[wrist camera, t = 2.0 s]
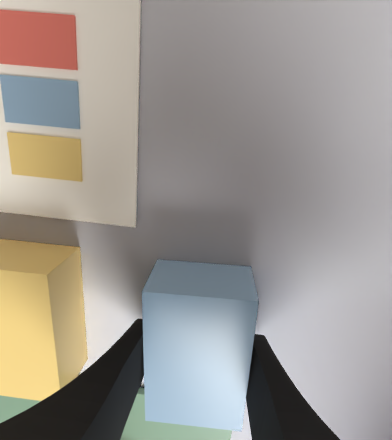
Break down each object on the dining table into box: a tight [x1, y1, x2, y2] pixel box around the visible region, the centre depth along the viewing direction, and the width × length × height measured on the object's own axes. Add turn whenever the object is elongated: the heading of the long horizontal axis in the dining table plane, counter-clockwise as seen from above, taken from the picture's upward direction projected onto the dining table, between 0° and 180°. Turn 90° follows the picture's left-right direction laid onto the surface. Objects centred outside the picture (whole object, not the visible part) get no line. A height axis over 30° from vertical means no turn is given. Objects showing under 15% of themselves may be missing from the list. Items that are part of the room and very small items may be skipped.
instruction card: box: [0, 0, 141, 228], centre depth 11 cm, size 8×10×1 cm
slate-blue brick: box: [142, 259, 259, 432], centre depth 13 cm, size 4×7×3 cm, turn 178°
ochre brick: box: [0, 239, 88, 401], centre depth 14 cm, size 4×7×3 cm, turn 176°
